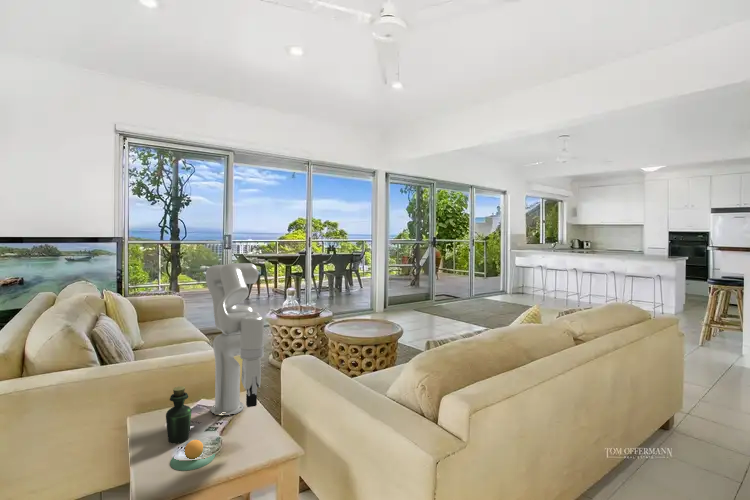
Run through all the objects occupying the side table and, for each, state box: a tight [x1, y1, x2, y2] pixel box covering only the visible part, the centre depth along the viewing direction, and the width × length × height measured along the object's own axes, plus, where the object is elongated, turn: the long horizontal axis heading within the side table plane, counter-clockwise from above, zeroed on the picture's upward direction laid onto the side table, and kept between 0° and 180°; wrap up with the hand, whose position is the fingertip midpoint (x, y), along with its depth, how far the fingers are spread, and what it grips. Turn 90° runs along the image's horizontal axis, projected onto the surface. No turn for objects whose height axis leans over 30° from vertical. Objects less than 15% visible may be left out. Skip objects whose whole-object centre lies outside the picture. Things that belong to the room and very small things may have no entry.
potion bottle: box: [165, 385, 193, 445], centre depth 136 cm, size 8×8×18 cm
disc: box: [169, 453, 216, 472], centre depth 125 cm, size 13×13×1 cm
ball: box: [183, 439, 204, 459], centre depth 125 cm, size 6×6×6 cm
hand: (251, 405), depth 134 cm, fingers closed
